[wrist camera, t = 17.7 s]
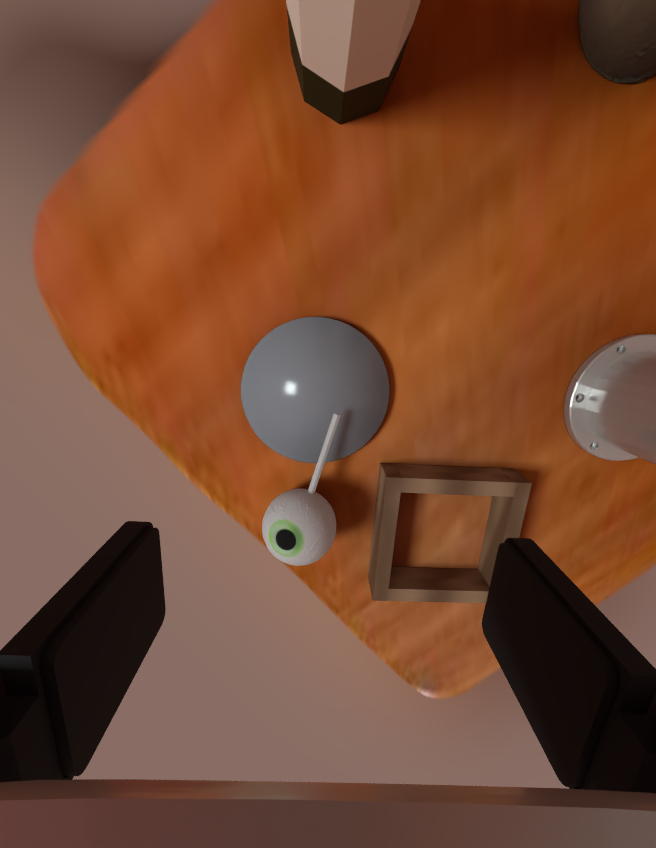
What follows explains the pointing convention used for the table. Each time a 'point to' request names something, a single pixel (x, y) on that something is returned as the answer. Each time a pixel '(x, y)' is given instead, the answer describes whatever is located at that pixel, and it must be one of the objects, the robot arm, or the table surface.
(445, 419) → the table surface
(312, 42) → the wine bottle
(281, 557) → the eyeball on stick
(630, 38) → the pillar candle
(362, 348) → the gray round disc
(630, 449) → the robot arm
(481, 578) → the frame
